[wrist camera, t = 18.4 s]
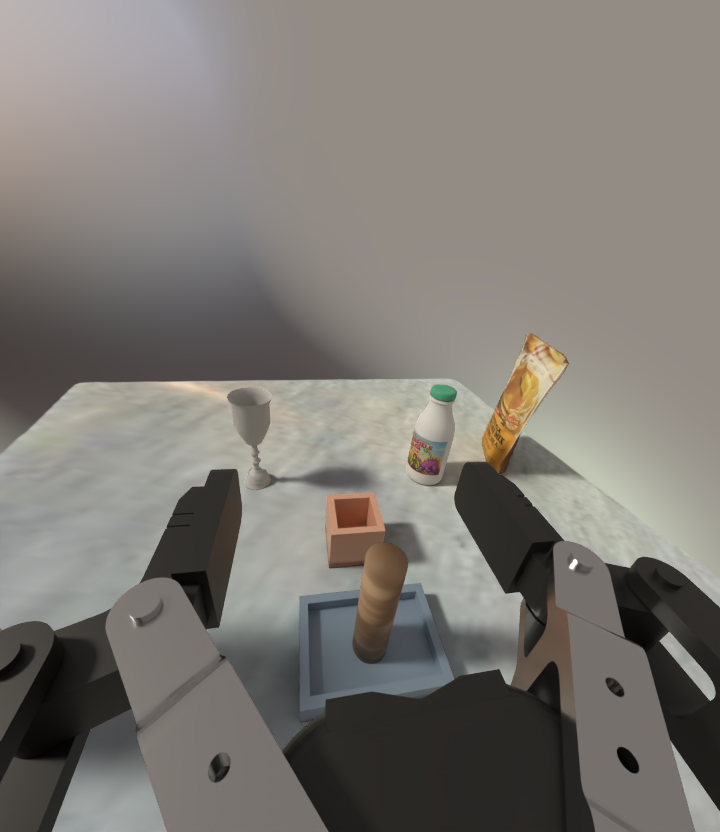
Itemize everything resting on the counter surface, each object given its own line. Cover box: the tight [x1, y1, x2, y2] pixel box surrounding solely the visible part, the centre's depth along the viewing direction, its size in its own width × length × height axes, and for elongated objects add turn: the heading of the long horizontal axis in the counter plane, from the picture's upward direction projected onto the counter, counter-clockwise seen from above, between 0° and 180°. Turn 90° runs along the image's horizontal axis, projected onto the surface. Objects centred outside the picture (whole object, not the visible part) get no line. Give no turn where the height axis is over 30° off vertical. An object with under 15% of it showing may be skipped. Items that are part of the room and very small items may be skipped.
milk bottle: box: [406, 385, 457, 485], centre depth 61 cm, size 8×8×20 cm
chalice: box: [227, 388, 272, 490], centre depth 55 cm, size 7×7×18 cm
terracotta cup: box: [325, 493, 386, 568], centre depth 47 cm, size 8×8×7 cm
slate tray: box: [300, 583, 454, 722], centre depth 36 cm, size 16×11×2 cm
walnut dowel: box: [352, 542, 408, 664], centre depth 32 cm, size 4×4×15 cm
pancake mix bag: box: [482, 333, 569, 474], centre depth 69 cm, size 7×19×28 cm, turn 167°
